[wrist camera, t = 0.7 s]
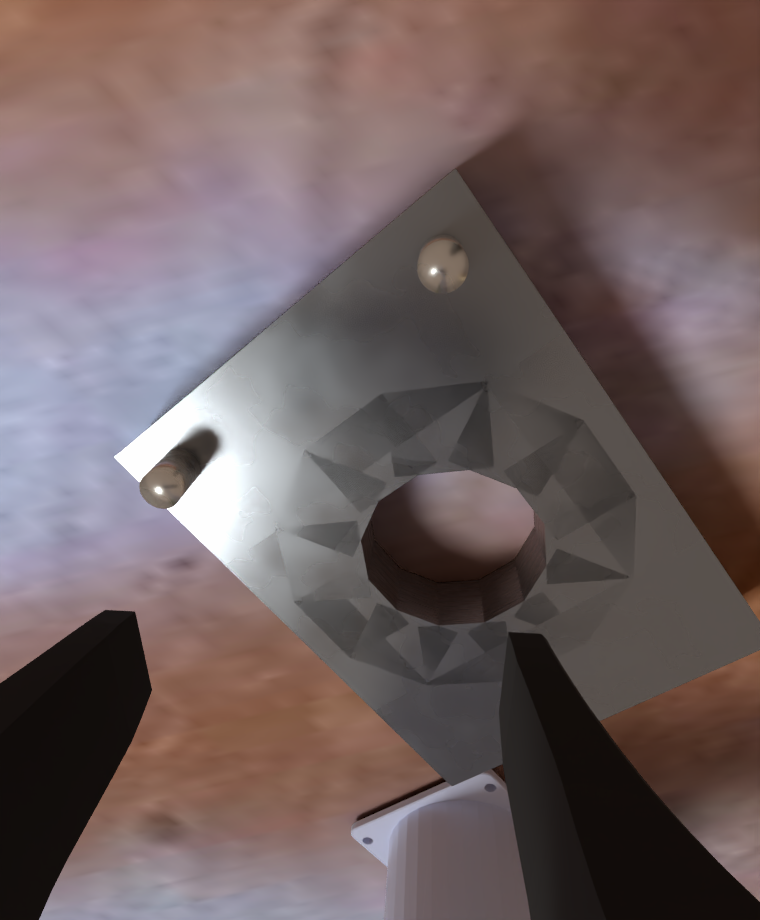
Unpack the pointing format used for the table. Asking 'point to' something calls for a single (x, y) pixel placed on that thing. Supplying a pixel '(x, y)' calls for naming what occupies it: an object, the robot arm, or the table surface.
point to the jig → (436, 451)
